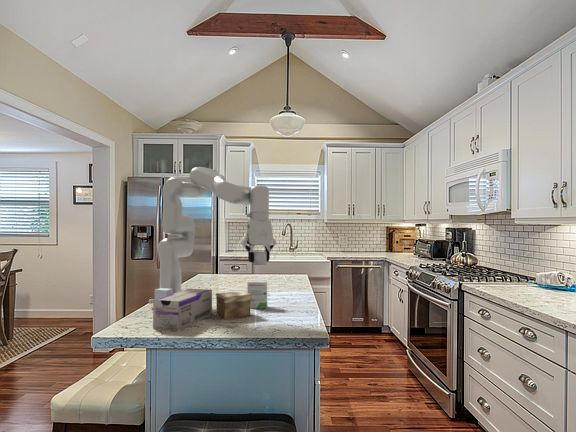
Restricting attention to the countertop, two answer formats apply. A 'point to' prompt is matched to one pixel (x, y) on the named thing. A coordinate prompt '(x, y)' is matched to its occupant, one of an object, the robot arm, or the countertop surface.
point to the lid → (235, 296)
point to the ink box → (258, 293)
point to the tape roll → (260, 258)
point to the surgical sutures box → (181, 309)
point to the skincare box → (162, 292)
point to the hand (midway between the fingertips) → (259, 261)
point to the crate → (232, 309)
